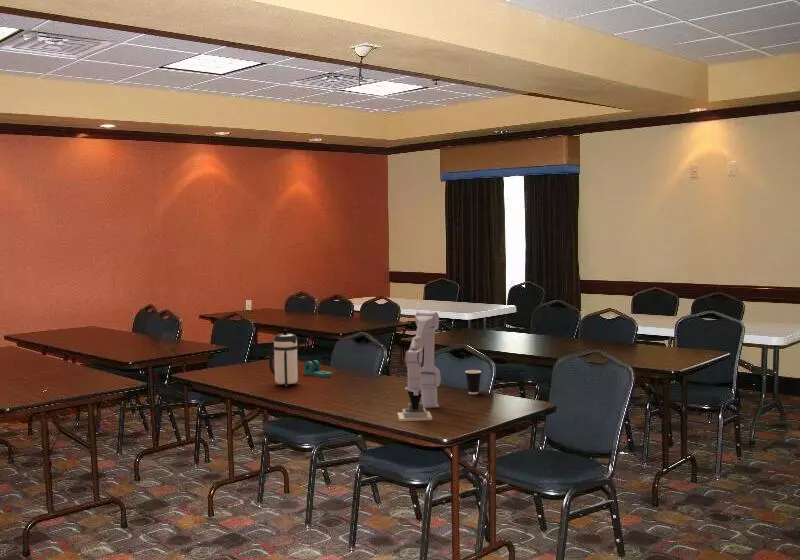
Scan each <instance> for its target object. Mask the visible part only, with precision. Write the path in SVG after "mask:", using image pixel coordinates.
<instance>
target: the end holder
mask: <svg viewBox="0 0 800 560" xmlns="http://www.w3.org/2000/svg"><path fill="white" fill-rule="evenodd" d="M401 411H402V412H397V417H398V420H399V421H400V422H413V421H418V422H419V421H432V420H433V416H432V414H431V412H430V411H427V409H426V408H423V412H408V408H402V410H401Z"/></svg>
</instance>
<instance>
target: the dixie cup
mask: <svg viewBox="0 0 800 560" xmlns="http://www.w3.org/2000/svg"><path fill="white" fill-rule="evenodd" d="M464 372H465V377H466V379H465V380H466V386H467V392H468V395H478V394H479V391H480V386H481V385H480V384H481V375H482V374H481V373H482V371H481V370H479V369H468V370H465V371H464Z"/></svg>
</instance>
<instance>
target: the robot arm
mask: <svg viewBox="0 0 800 560" xmlns="http://www.w3.org/2000/svg"><path fill="white" fill-rule="evenodd" d="M414 316H415V318H414V320H415V325H416V327H417V328H416V332H415V336H413V337H412V339H411V343H410V346H409V348H408V350H407V351H406V352H405V354H404V355H405V359H404V361H405V364H406V365H405V366H406V368H407V387H405V388H404V391H405V390H407V391H406V392H407V395H408V397H409V401H410V402H409V403H412V409H413V410H418V406H419V403H422V404H423V408H425V409H426V408H427V409H428V408H429V409H430V408H440V405H439V404H438V387H439V386H440V385H441V381H442V380H441V379H442V378H441V371H440V369H439V368H438V367H437V366H436V365H435V336H436V335H435V334H436V331H437V330H439V327H440V326H439V325H440V323H439V322H440V318H439V317H440V316H439V313H438V312H437V311H416V313H415V315H414ZM422 362H423V366H422V365H421V364H422ZM421 366H422V367H421ZM420 400H421V402H420Z"/></svg>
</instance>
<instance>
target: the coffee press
mask: <svg viewBox="0 0 800 560" xmlns="http://www.w3.org/2000/svg"><path fill="white" fill-rule="evenodd" d="M282 332H283V333H278V334H276V335H275V336H274V337H273V339H272V341H273V344H272V345H271V346H270V347H269V349H268V350H269V351H268V363H269V369H270V372H271V373H272V374H273V376H274V379H273V380H274V381H273V382H272V383H271V384H272V386H273V387H274V386H276V385H277V384H278V385H284V388H288V386H289V385H292V384H297V385H298V386H300V385H301V381H300V380H299V364H298V360H299V359H298V358H299V357H298V355H299V353H298V351H299V350H298V347H299V346H298V340H299V338H298V337H297V335H296V334H294V333H289V332H288V329H287V328H284V329H283V331H282ZM274 382H275V384H274ZM298 382H299V383H298Z"/></svg>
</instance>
